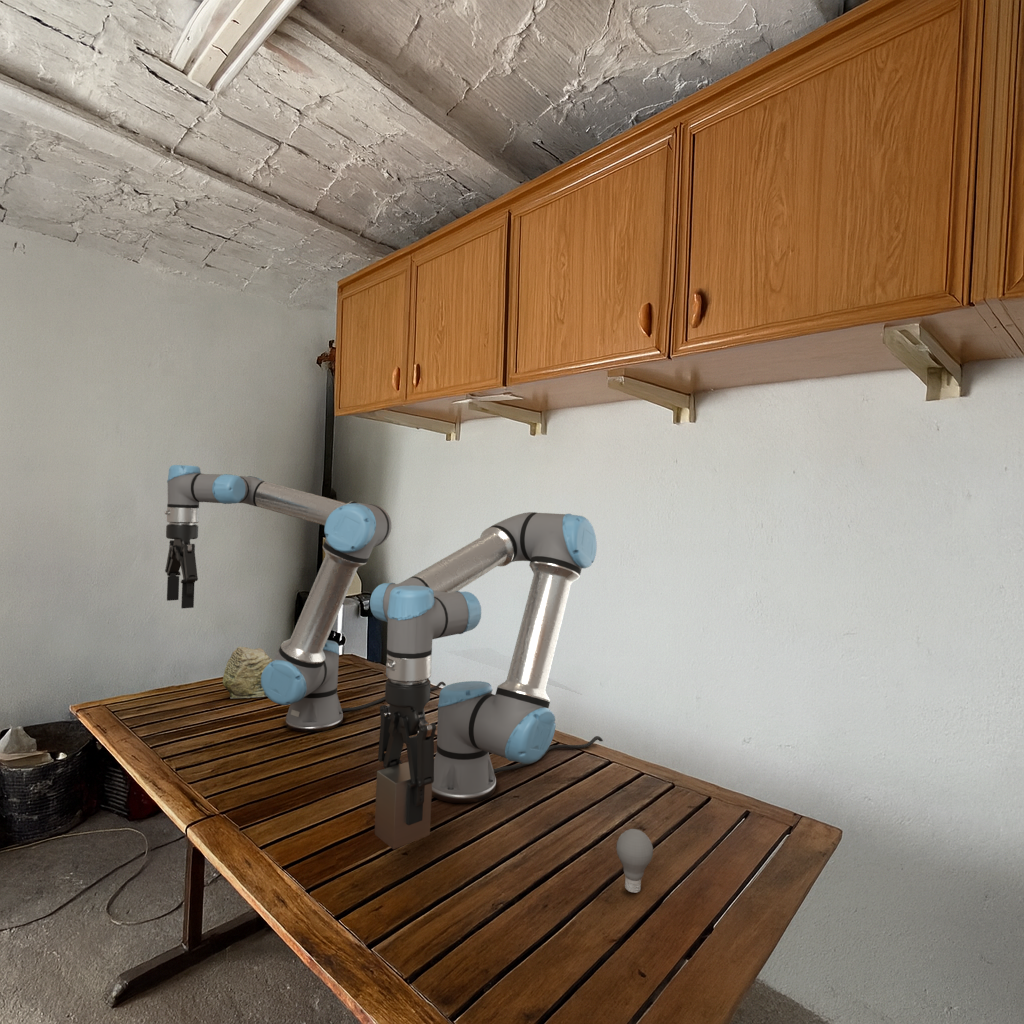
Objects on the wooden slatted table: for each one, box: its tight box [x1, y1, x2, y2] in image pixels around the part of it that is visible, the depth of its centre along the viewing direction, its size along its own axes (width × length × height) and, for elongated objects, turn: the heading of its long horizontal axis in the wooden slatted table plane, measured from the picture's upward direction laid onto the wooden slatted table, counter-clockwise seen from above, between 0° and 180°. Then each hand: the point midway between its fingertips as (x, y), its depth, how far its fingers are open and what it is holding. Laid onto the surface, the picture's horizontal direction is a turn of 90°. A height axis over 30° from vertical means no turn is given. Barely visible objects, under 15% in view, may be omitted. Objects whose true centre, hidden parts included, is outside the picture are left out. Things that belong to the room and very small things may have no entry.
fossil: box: [222, 646, 274, 699], centre depth 198 cm, size 9×18×15 cm, turn 132°
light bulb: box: [615, 828, 654, 894], centre depth 106 cm, size 6×6×10 cm
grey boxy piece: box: [374, 761, 432, 850], centre depth 107 cm, size 6×7×11 cm
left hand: (179, 604), depth 167 cm, fingers open, 13 cm apart
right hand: (403, 813), depth 107 cm, fingers closed on grey boxy piece, 6 cm apart
